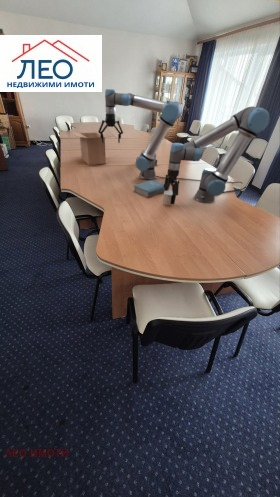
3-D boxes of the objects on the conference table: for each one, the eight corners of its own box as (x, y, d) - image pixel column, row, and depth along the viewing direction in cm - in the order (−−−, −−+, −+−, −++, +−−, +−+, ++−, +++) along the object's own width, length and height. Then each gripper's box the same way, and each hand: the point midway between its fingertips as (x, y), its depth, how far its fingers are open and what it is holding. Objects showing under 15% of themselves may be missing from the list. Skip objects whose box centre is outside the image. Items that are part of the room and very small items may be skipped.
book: (152, 185, 190) (153, 179, 187) (167, 191, 181) (167, 185, 178) (133, 191, 176) (133, 185, 173) (147, 198, 167) (148, 191, 164)
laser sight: (155, 166, 234) (156, 156, 228) (135, 164, 237) (135, 154, 231) (157, 164, 242) (158, 154, 236) (137, 161, 245) (137, 152, 239)
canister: (168, 199, 164) (169, 189, 160) (177, 203, 160) (178, 193, 155) (160, 201, 159) (161, 191, 155) (169, 206, 155) (170, 196, 150)
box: (116, 165, 229) (116, 136, 213) (83, 168, 214) (80, 137, 198) (102, 154, 259) (101, 128, 243) (71, 156, 244) (68, 129, 228)
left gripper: (94, 113, 168) (96, 143, 180) (126, 114, 173) (126, 143, 186) (94, 112, 174) (95, 141, 186) (125, 113, 179) (124, 141, 192)
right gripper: (161, 164, 152) (157, 195, 165) (177, 174, 136) (172, 208, 150) (170, 164, 154) (166, 194, 168) (187, 173, 139) (181, 206, 152)
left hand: (110, 142), depth 186 cm, fingers open, 13 cm apart
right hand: (169, 200), depth 159 cm, fingers closed on canister, 9 cm apart
